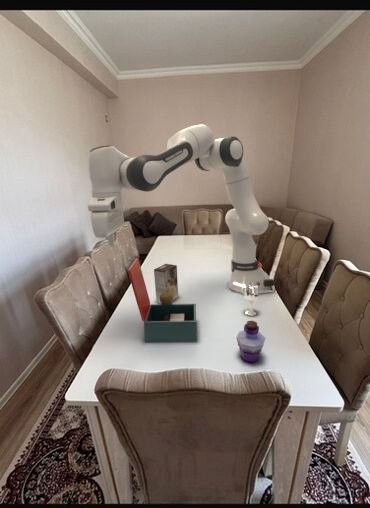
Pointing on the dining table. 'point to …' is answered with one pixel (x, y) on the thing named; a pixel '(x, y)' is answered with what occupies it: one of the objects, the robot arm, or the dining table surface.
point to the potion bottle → (250, 342)
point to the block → (177, 317)
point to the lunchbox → (170, 323)
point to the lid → (139, 288)
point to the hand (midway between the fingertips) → (113, 245)
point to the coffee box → (166, 281)
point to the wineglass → (251, 296)
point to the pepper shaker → (166, 301)
